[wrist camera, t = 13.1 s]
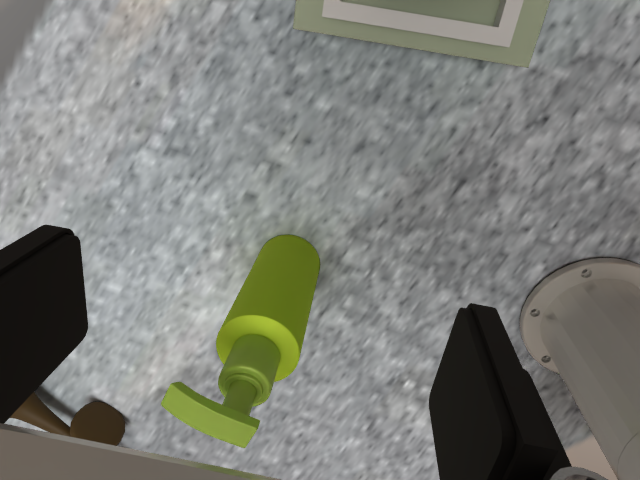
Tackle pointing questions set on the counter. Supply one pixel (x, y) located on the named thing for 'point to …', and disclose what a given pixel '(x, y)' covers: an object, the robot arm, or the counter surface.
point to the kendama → (76, 421)
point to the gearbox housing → (433, 25)
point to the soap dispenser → (255, 341)
